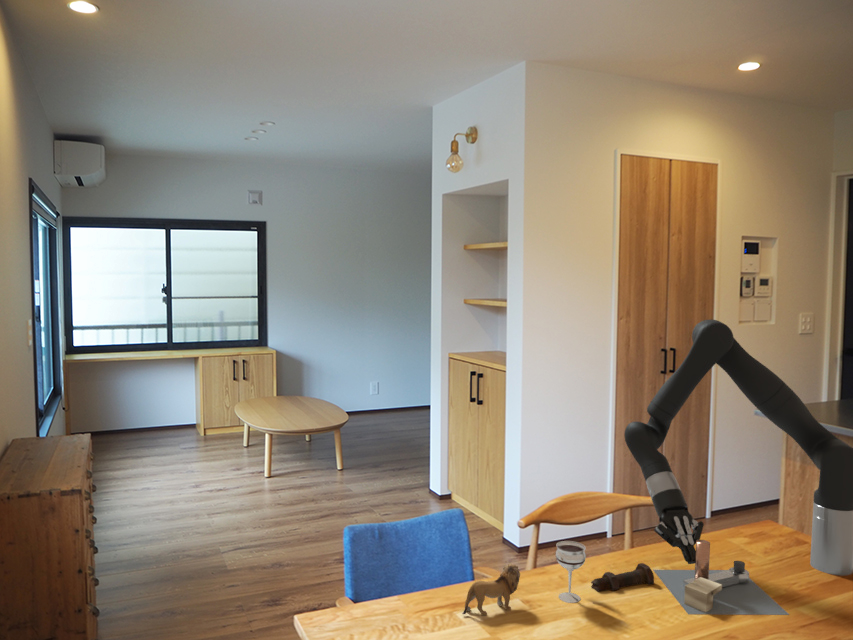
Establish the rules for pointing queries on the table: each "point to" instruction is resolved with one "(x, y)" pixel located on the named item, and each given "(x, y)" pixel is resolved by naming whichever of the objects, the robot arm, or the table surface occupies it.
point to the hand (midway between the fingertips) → (693, 562)
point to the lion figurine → (495, 589)
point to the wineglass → (570, 563)
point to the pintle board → (724, 595)
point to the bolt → (624, 579)
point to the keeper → (701, 593)
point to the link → (721, 577)
